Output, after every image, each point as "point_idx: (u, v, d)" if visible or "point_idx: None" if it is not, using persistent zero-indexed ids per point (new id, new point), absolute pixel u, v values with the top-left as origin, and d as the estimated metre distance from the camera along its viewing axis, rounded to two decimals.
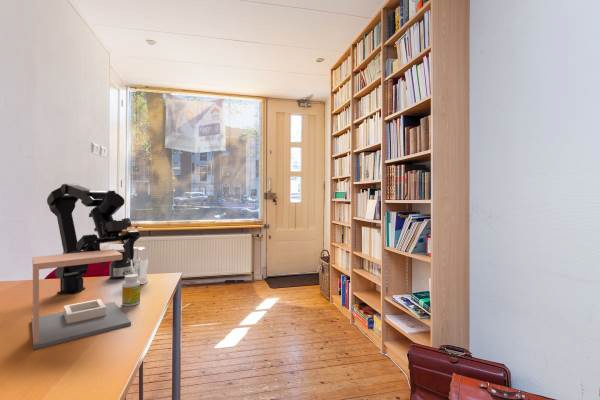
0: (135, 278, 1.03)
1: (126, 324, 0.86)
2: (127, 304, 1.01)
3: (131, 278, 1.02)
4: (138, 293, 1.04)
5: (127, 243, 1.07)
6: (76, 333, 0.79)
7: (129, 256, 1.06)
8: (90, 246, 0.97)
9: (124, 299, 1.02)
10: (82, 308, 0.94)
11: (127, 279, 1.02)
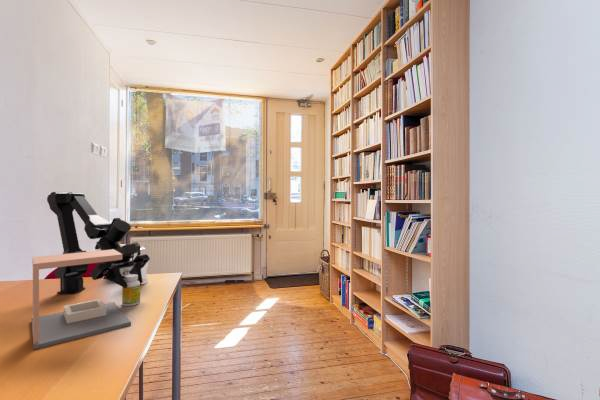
0: (135, 278, 1.03)
1: (126, 324, 0.86)
2: (127, 304, 1.01)
3: (131, 278, 1.02)
4: (138, 293, 1.04)
5: (134, 268, 1.08)
6: (76, 333, 0.79)
7: (138, 280, 1.06)
8: (111, 272, 1.00)
9: (124, 299, 1.02)
10: (82, 308, 0.94)
11: (127, 279, 1.02)
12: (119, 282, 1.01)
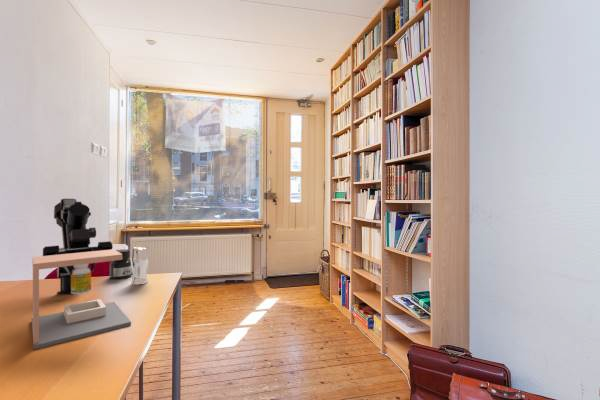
0: (82, 266, 0.97)
1: (126, 324, 0.86)
2: (72, 292, 0.96)
3: (77, 265, 0.97)
4: (85, 282, 0.97)
5: None
6: (76, 333, 0.79)
7: (91, 268, 1.00)
8: None
9: (71, 286, 0.97)
10: (82, 308, 0.94)
11: (74, 266, 0.97)
12: (66, 268, 0.96)
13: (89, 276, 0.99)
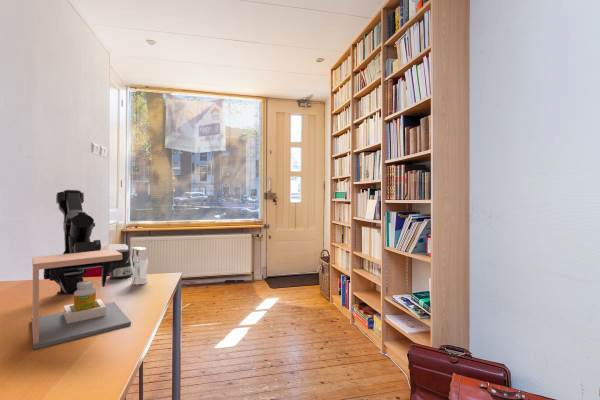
0: (86, 286, 0.90)
1: (126, 324, 0.86)
2: None
3: (81, 286, 0.90)
4: (89, 303, 0.90)
5: (102, 268, 0.97)
6: (76, 333, 0.79)
7: (102, 283, 0.94)
8: (53, 273, 0.88)
9: (74, 309, 0.90)
10: None
11: (77, 286, 0.90)
12: (61, 285, 0.88)
13: (93, 297, 0.92)
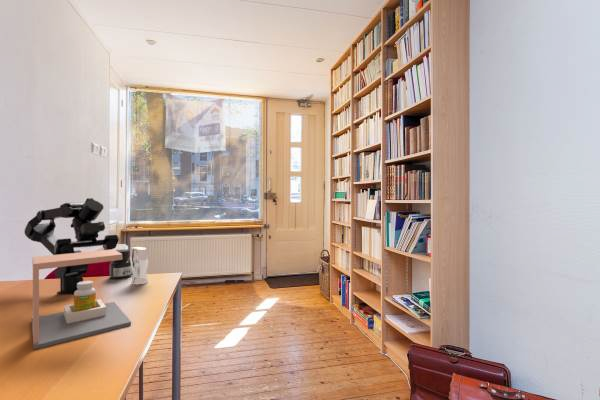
0: (86, 286, 0.90)
1: (126, 324, 0.86)
2: None
3: (81, 286, 0.90)
4: (89, 304, 0.90)
5: (105, 246, 1.12)
6: (76, 333, 0.79)
7: None
8: (64, 249, 1.03)
9: (74, 309, 0.90)
10: None
11: (77, 286, 0.90)
12: None
13: (93, 297, 0.92)
